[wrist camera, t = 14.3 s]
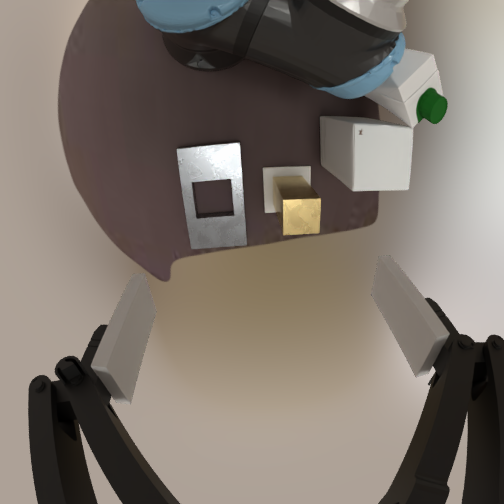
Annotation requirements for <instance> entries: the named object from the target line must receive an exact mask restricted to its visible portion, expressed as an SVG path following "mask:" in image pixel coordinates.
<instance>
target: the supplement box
mask: <svg viewBox="0 0 504 504" xmlns="http://www.w3.org/2000/svg"><path fill="white" fill-rule="evenodd" d="M412 146H413V128H411V127H408V126H404V125H400V124H395V123H391V122H386V121H381V120H376V119H371V118H364V117H346V116H320V149H321V165H322V166H323V167H324V168H325V169H327V170H328V171H329V172H330V173H332V174H333V175H334V176H335V177H337V178H338V179H339V180H340V181H341V182H343V183H344V184H345V185H346V186H347V187H349V188H350V189H351V190H352V191H378V190H409V183H410V172H411V171H410V170H411V159H412Z"/></svg>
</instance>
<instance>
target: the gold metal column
mask: <svg viewBox="0 0 504 504" xmlns="http://www.w3.org/2000/svg"><path fill="white" fill-rule="evenodd" d="M273 205H274V208H275V211H276V214H277V217H278V220H279V223H280V226H281V229H282V232H283V235H294V234H311V233H319V228H320V208H321V198H320V197H319V196H318V194H317V193H316V192H315V191H314V189H313V188H312V187H311V186H310V185H309V183H308V182H307V181H306V180H305V179H304V178H303V176H280V177H273Z"/></svg>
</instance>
